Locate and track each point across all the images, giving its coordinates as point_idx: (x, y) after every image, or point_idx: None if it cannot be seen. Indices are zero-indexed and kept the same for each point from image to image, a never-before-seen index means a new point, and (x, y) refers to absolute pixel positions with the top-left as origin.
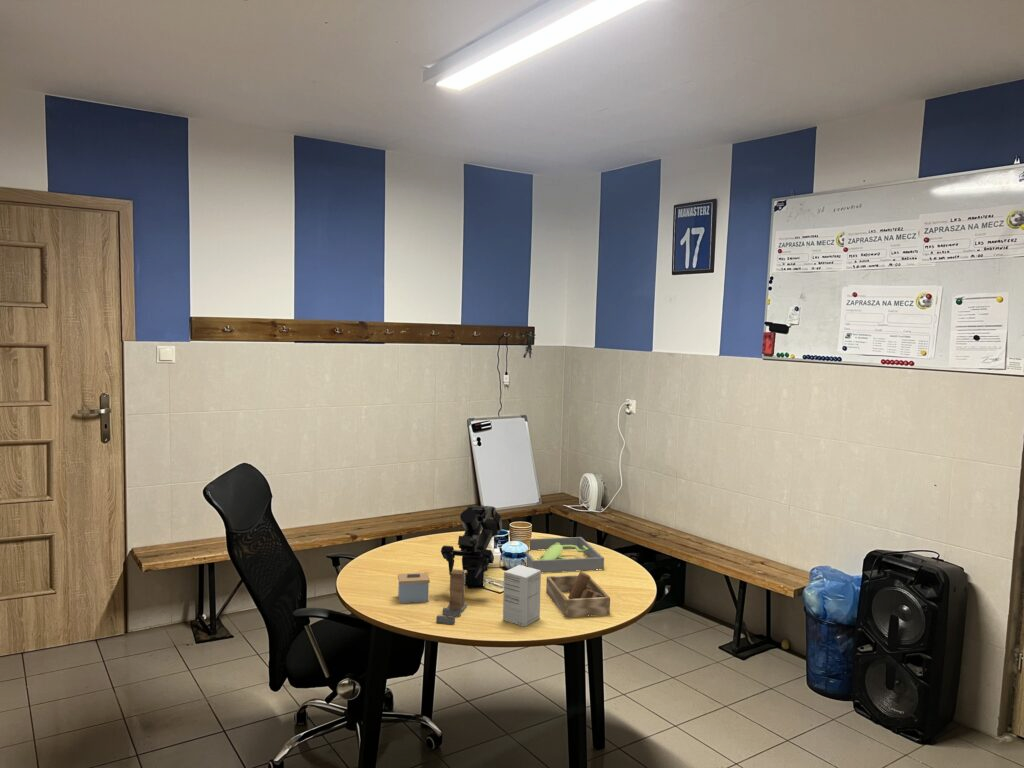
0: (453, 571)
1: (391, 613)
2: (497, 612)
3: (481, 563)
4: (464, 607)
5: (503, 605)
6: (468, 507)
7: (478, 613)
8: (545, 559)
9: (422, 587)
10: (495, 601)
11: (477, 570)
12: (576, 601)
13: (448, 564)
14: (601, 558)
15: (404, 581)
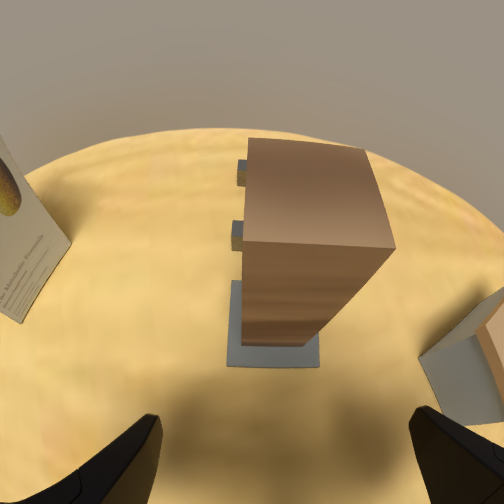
0: (359, 184)
1: (451, 222)
2: (82, 311)
3: (34, 496)
4: (231, 319)
5: (44, 207)
6: None
7: (157, 286)
8: None
9: (476, 325)
10: (101, 442)
11: (110, 451)
12: None
13: (493, 444)
14: None
15: None
